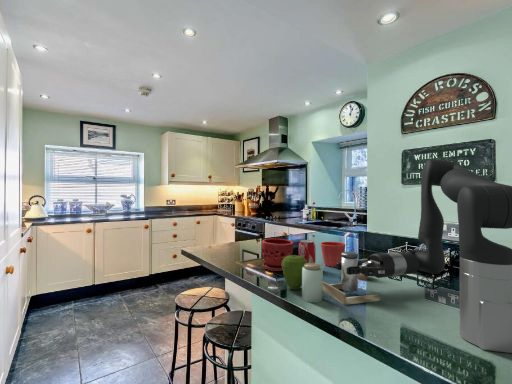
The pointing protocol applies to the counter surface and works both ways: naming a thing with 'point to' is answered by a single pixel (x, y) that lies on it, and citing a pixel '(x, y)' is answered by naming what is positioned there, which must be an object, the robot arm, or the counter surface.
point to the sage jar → (312, 282)
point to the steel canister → (346, 280)
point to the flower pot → (332, 252)
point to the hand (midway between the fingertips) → (342, 268)
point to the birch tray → (341, 297)
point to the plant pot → (275, 253)
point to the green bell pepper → (293, 270)
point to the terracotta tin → (362, 277)
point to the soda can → (307, 250)
